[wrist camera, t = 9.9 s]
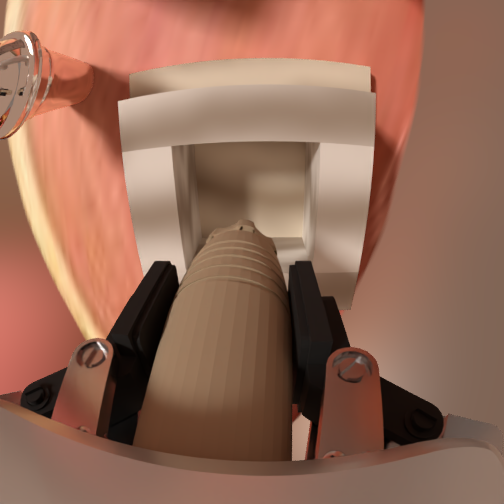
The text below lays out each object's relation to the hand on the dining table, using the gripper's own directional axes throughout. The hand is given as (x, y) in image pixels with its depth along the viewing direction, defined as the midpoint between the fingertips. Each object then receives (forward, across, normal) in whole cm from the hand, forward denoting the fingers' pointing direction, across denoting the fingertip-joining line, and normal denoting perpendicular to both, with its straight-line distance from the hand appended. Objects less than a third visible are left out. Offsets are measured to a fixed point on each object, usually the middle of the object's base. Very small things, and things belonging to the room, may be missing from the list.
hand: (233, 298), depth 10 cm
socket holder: (+16, 0, 0) cm, 16 cm away
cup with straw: (+16, +17, -12) cm, 26 cm away
